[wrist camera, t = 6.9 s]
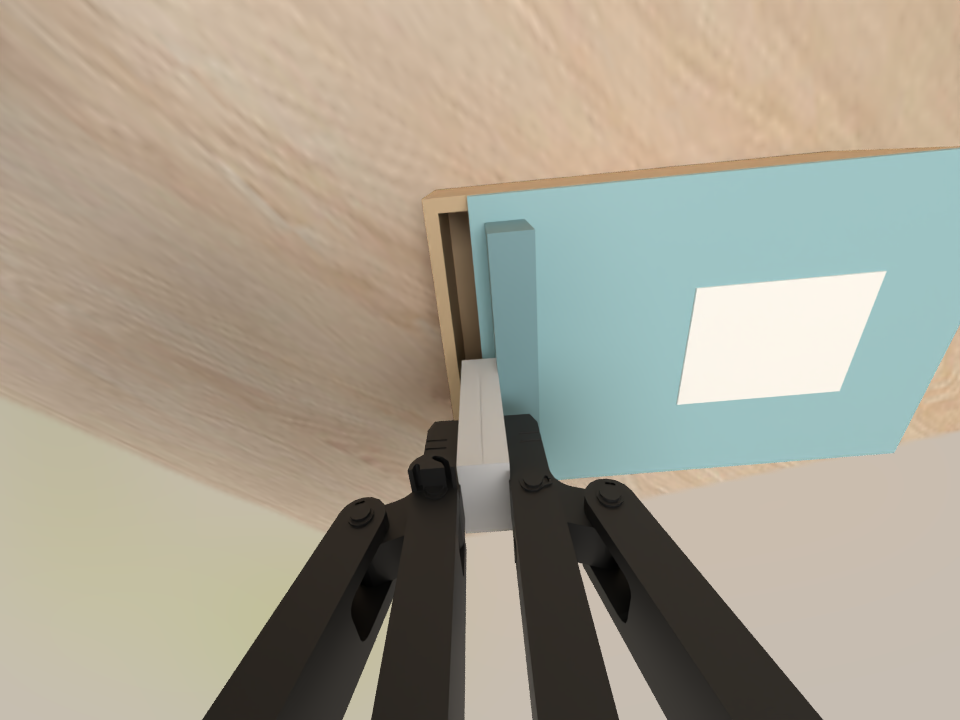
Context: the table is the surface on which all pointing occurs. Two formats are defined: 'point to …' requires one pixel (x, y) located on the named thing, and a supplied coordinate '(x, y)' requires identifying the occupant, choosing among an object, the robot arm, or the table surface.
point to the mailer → (451, 208)
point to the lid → (721, 310)
